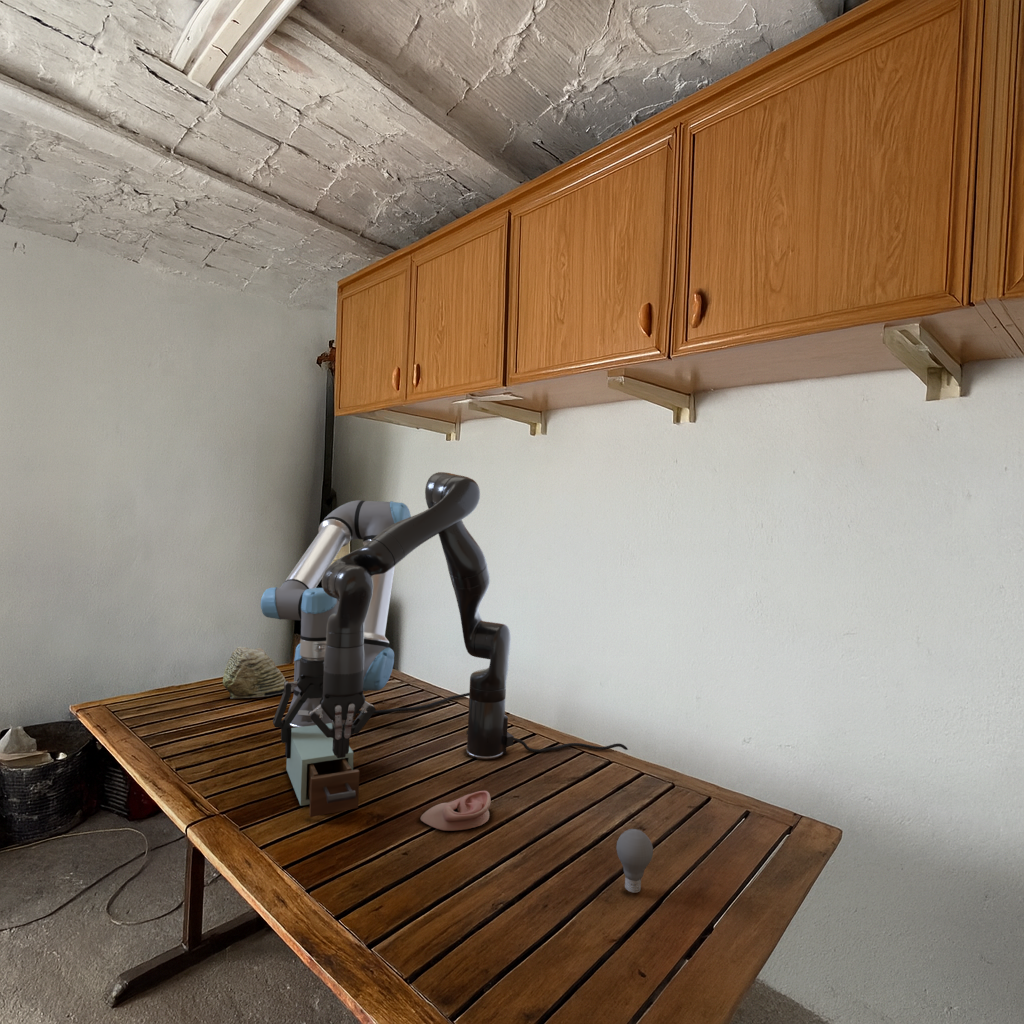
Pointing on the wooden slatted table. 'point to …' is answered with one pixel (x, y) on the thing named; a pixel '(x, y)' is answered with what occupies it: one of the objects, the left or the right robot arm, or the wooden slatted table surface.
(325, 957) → the wooden slatted table surface
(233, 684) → the fossil
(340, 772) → the drawer
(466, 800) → the anatomical model
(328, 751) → the cabinet
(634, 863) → the light bulb
